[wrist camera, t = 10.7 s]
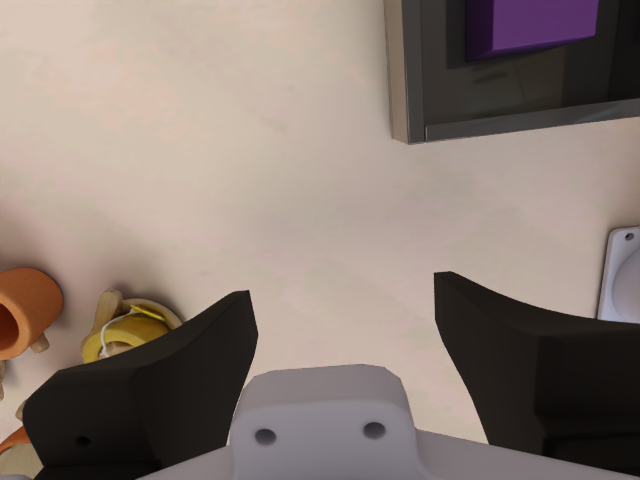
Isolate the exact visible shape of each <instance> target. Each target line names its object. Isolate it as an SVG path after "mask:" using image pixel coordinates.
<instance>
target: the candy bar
mask: <svg viewBox="0 0 640 480" xmlns="http://www.w3.org/2000/svg"><path fill="white" fill-rule="evenodd" d="M598 3H599V0H466V62H470V61H477V60H484V59H491V58H498V57H505V56H512V55H519V54H526V53H533V52H540V51H547V50H551V49H554V48H557V47H561V46H564V45H567V44H570V43H573V42H576V41H579V40H583V39H586V38H589V37H592V36H594V35H595V31H596V22H597V13H598Z"/></svg>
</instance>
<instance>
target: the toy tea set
mask: <svg viewBox="0 0 640 480" xmlns="http://www.w3.org/2000/svg"><path fill="white" fill-rule="evenodd" d="M62 308H63V297H62V294H61V291H60V289H59V287H58V286H57V285H56V283H55V282H54V281H53V280H52V279H51V278H50V277H48V276H47V275H45V274H44V273H42V272H40V271H37V270H34V269H30V268H16V269H13V270H9V271H5V272H2V273H0V401H1V400H3V398H4V391H3V387H2V383H1V382H2V380H3V378H4V375H5V362H4V360H7V359H11V358H14V357H16V356H18V355H20V354H22V353H23V352H24V351H25V350H26V349H27V348H28V347H29V346H30V347H31V348H32V350H33V351H34V352H35V353H40V352H42V351H44V350H46V349H48V348H49V345H50V344H49V342H48V340H47V338H46V337H45V335H44V333H43V332H44V331H45V330H46V329H47V328H48V327H49V326H50V325H51V324H52V323H53V322H54V321H55V320H56V319H57V318H58V316H59V315H60V313H61V312H62ZM181 325H182V323H181V321H180V320H179V319H178V318H177V316H176V315H175V314H174V313H173V312H171V311H170V310H169V309H167V308H166V307H164V306H162V305H160V304H158V303H156V302H153V301H150V300H146V299H126V300H123V296H122V294H121V292H119V291H118V290H115V289H108V290H107V291H106V292H104V293H103V294H102V295H101V296H100V299H99V302H98V306H97V311H96V315H95V323H94V327H93V330H92V332H91V333H90V334H89V335H88V336H87V337H85V338H84V340H83V341H82V343H81V352H82V354H83V362H84V364H86V363H90V362H93V361H97V360H100V359H103V358H107V357H110V356H113V355H116V354H119V353H121V352H124V351H127V350H130V349H132V348H135V347H137V346H139V345H142V344H144V343H147V342H149V341H151V340H154V339H156V338H158V337H160V336H162V335H164V334H166V333H168V332H170V331H172V330H174V329H175V328H177V327H179V326H181ZM25 402H26V400H25V401H24V402H23V403H22V404H21V405H20V406H19V408H18V410H17V412H16V413H15V416H16V418H17V419H19V420H20V421H22V410H23V407H24V404H25ZM43 467H44V466H43V465H42V463H41V461H40V459H39V457H38V455H37V453H36V451H35V449H34V447H33V445H32V443H31V441H30V439H29V438H28V436H27V434H26V431H25V428H24V425H23V426H22V427H21V428H19V429H18V430H17V431H15V432H14V433H13V434H11V435H10V436H9V437H8V438H7V439H5V440H4V441H3V442H2V443H1V444H0V475H13V474H21V475H26V476H28V477H30V478H32V479H34V478H35V476H36V475H37V474H38V473H39V472H40V470H41V469H42V468H43Z"/></svg>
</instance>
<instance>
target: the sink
mask: <svg viewBox="0 0 640 480" xmlns="http://www.w3.org/2000/svg"><path fill="white" fill-rule="evenodd" d="M384 16H385V33H386V50H387V67H388V84H389V101H390V118H391V135H392V139H395V140H397V141H400V142H403V143H405V144H408V145H413V144H421V143H429V142H437V141H445V140H454V139H462V138H470V137H478V136H486V135H494V134H502V133H510V132H518V131H526V130H534V129H542V128H550V127H558V126H566V125H574V124H582V123H590V122H599V121H607V120H615V119H623V118H631V117H639V116H640V0H599V3H598V13H597V22H596V31H595V35H594V36H592V37H589V38H586V39H583V40H579V41H576V42H573V43H570V44H567V45H564V46H561V47H557V48H554V49H551V50H547V51H540V52H533V53H526V54H519V55H512V56H505V57H498V58H491V59H484V60H477V61H470V62H466V0H384Z"/></svg>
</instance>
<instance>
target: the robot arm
mask: <svg viewBox="0 0 640 480" xmlns="http://www.w3.org/2000/svg"><path fill="white" fill-rule="evenodd" d="M628 233H629V237H627V238H625V237H626V235H627V234H628ZM434 296H435V321H436V324H437V327H438V330H439V333H440V336H441V339H442V341H443V343H444V345H445V347H446V349H447V351H448V353H449V355H450V357H451V359H452V361H453V363H454V365H455V367H456V368H457V370H458V372H459V374H460V376H461V378H462V380H463V382H464V384H465V386H466V387H467V390H468V392H469V394H470V396H471V398H472V400H473V403H474V406H475V408H476V411H477V413H478V416H479V418H480V421H481V424H482V426H483V429H484V432H485V434H486V437H487V440H488V443H489V445H488V444H484V443H479V442H474V441H470V440H465V439H460V438H456V437H451V436H447V435H442V434H437V433H433V432H428V431H423V430H419V429H416V428H415V426H414V422H413V418H412V414H411V410H410V406H409V402H408V398H407V394H406V392H405V390H404V387H403V385H402V382H401V380H400V378H399V377H397V376H396V375H394V374H393V373H392V372H390V371H389V370H387V369H386V368H384V367H380V366H373V365H366V364H355V365H342V366H328V367H315V368H301V369H288V370H274V371H270V372H267V373H264V374H261V375H258V376H254V378H253V379H252V380H251V381H250V382H249V383H248V384H247V385H246V387H245V388H244V389H243V391H242V388H243V385H244V383H245V380H246V377H247V375H248V372H249V369H250V366H251V364H252V361H253V358H254V354H255V350H256V345H257V339H258V330H257V325H256V321H255V316H254V311H253V306H252V302H251V297H250V292H249V290H245V291H235V292H232V293H230V294H228V295H227V296H225V297H224V298H222V299H221V300H219V301H218V302H216V303H215V304H213V305H212V306H210V307H209V308H207V309H206V310H204V311H203V312H201V313H200V314H198V315H197V316H195V317H194V318H192V319H190V320H189V321H187V322H186V323H184V324H182V325H181V326H179V327H177V328H175V329H174V330H172V331H170V332H168V333H166V334H164V335H162V336H160V337H158V338H156V339H154V340H151V341H149V342H147V343H144V344H142V345H139V346H137V347H135V348H132V349H130V350H127V351H124V352H121V353H119V354H116V355H113V356H110V357H107V358H103V359H100V360H97V361H93V362H90V363H86V364H82V365H78V366H74V367H70V368H66V369H62V370H59V371H57V372H56V373H55V374H54V375H53V376H52V377H50V378H49V379H48V380H47V381H46V382H45V383H44V384H43V385H42V386H41V387H39V388H38V389H37V390H36V391H35V392H34V393H33V394H32V395H31V396H30V397H29V398H28V399H27V400H26V402H25V404H24V407H23V410H22V422H23V425H24V428H25V431H26V434H27V436H28V438H29V439H30V441H31V443H32V445H33V447H34V449H35V451H36V453H37V455H38V457H39V459H40V461H41V463H42V465H43V466H44V467H43V468H42V469H41V470H40V472H39V473H38V474H37V475H36V476H35V478H34V479H32V478H30V477H28V476H26V475H21V474H13V475H0V480H640V226H638V227H628V228H618V229H615V230H613V231H612V232H611V233H610V235H609V240H608V247H607V254H606V261H605V268H604V275H603V282H602V289H601V296H600V303H599V310H598V317H597V319H593V318H586V317H580V316H574V315H569V314H564V313H560V312H556V311H551V310H547V309H543V308H539V307H536V306H533V305H529V304H526V303H523V302H520V301H517V300H514V299H512V298H509V297H507V296H504V295H502V294H499V293H497V292H494V291H492V290H490V289H488V288H486V287H483V286H481V285H479V284H477V283H475V282H473V281H471V280H469V279H467V278H465V277H463V276H461V275H459V274H456V273H454V272H451V271H448V272H437V273H434ZM241 391H242V394H241ZM240 394H241V397H240V399H239V396H240ZM238 399H239V402H238ZM237 402H238V405H237ZM236 405H237V408H236ZM235 408H236V411H235ZM234 411H235V414H234ZM233 414H234V417H233ZM232 418H233V420H232ZM231 422H232V423H231ZM230 426H231V427H230ZM229 430H230V441H229V443H230V445H227V446H226V443H227V438H228V434H229Z"/></svg>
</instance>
